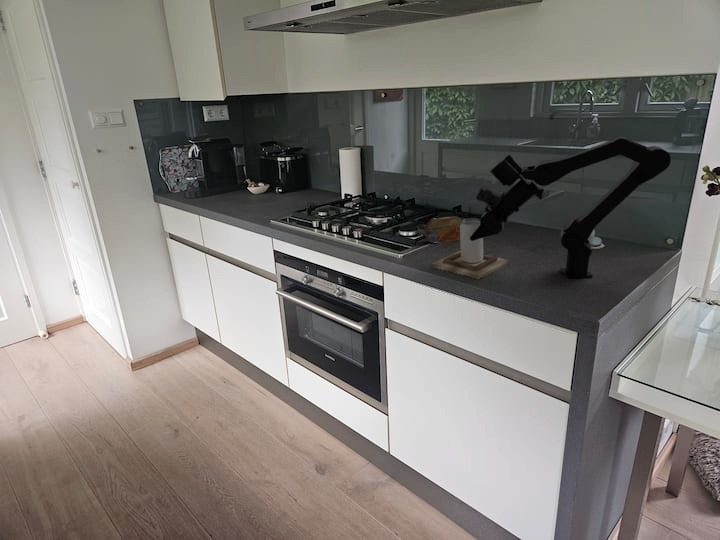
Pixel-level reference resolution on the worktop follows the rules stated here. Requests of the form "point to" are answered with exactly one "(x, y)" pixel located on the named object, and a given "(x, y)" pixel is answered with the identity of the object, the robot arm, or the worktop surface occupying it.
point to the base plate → (470, 265)
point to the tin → (443, 229)
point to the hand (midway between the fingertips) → (472, 234)
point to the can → (470, 249)
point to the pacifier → (595, 241)
